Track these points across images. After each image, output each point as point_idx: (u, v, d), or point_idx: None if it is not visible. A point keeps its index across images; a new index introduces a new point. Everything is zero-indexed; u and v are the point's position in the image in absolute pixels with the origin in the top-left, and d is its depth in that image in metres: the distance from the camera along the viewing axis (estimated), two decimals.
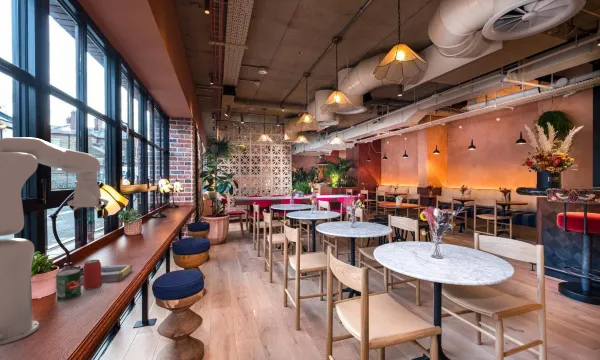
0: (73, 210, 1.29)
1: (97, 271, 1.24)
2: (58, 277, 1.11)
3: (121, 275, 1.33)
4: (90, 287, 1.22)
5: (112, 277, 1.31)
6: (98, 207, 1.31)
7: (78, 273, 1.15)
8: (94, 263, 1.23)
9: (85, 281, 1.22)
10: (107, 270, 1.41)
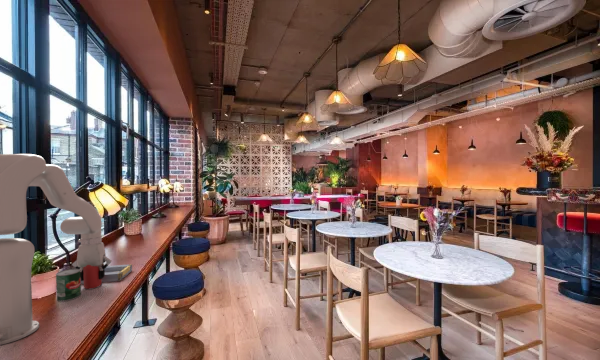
0: (80, 271, 1.23)
1: (97, 271, 1.24)
2: (58, 277, 1.11)
3: (121, 275, 1.33)
4: (90, 287, 1.22)
5: (112, 277, 1.31)
6: (100, 267, 1.25)
7: (78, 273, 1.15)
8: None
9: (85, 281, 1.22)
10: (107, 270, 1.41)
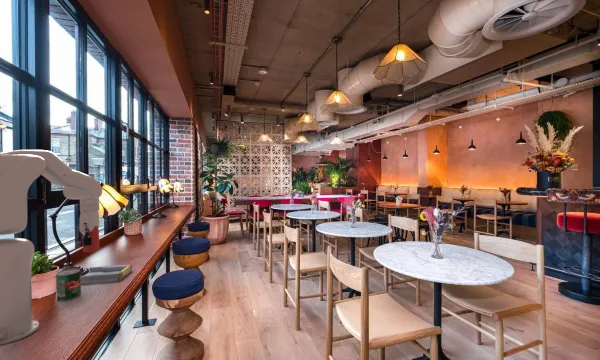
0: None
1: None
2: (58, 277, 1.11)
3: (121, 275, 1.33)
4: None
5: (112, 277, 1.31)
6: None
7: (78, 273, 1.15)
8: None
9: None
10: (107, 270, 1.41)
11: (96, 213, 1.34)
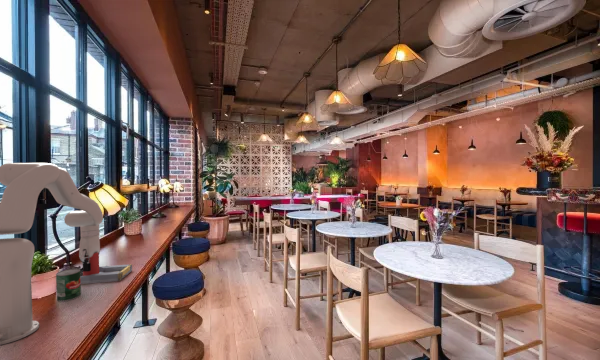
0: None
1: None
2: (58, 277, 1.11)
3: (121, 275, 1.33)
4: None
5: (112, 277, 1.31)
6: None
7: (78, 273, 1.15)
8: None
9: None
10: (107, 270, 1.41)
11: (96, 238, 1.36)
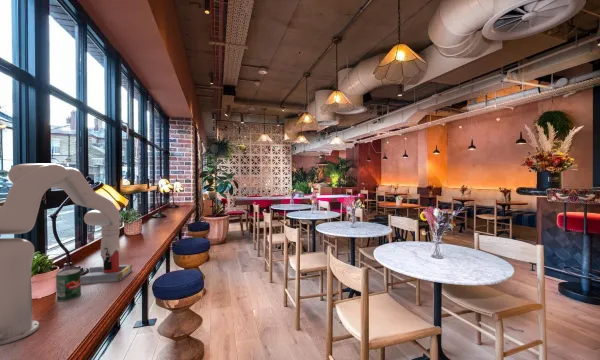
0: None
1: None
2: (58, 277, 1.11)
3: (121, 275, 1.33)
4: None
5: (112, 277, 1.31)
6: None
7: (78, 273, 1.15)
8: None
9: None
10: None
11: (116, 237, 1.38)
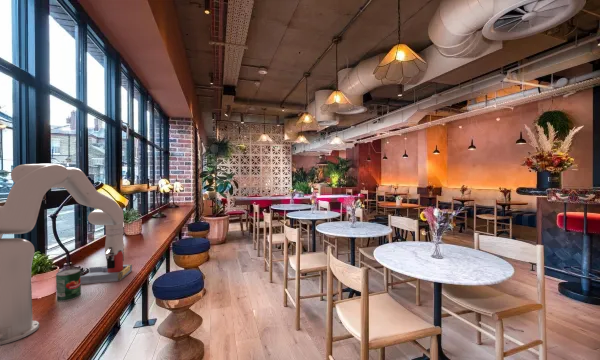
0: None
1: None
2: (58, 277, 1.11)
3: (121, 275, 1.33)
4: None
5: (112, 277, 1.31)
6: None
7: (78, 273, 1.15)
8: None
9: None
10: (107, 270, 1.41)
11: (120, 237, 1.38)
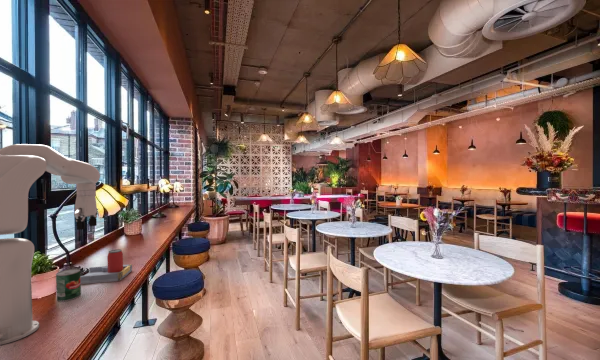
0: None
1: (108, 261, 1.34)
2: (58, 277, 1.11)
3: (121, 275, 1.33)
4: None
5: (112, 277, 1.31)
6: None
7: (78, 273, 1.15)
8: (109, 253, 1.35)
9: None
10: (107, 270, 1.41)
11: (92, 199, 1.35)
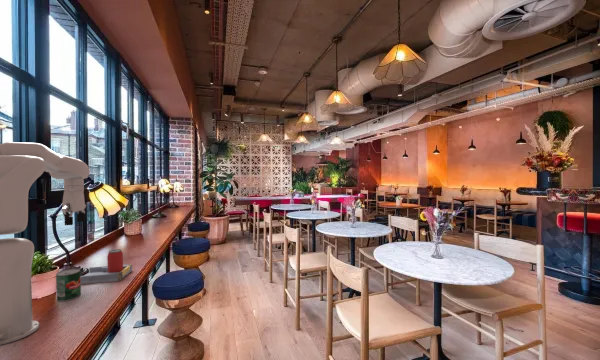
0: None
1: (108, 261, 1.34)
2: (58, 277, 1.11)
3: (121, 275, 1.33)
4: None
5: (112, 277, 1.31)
6: None
7: (78, 273, 1.15)
8: (109, 253, 1.35)
9: None
10: (107, 270, 1.41)
11: (80, 195, 1.34)
